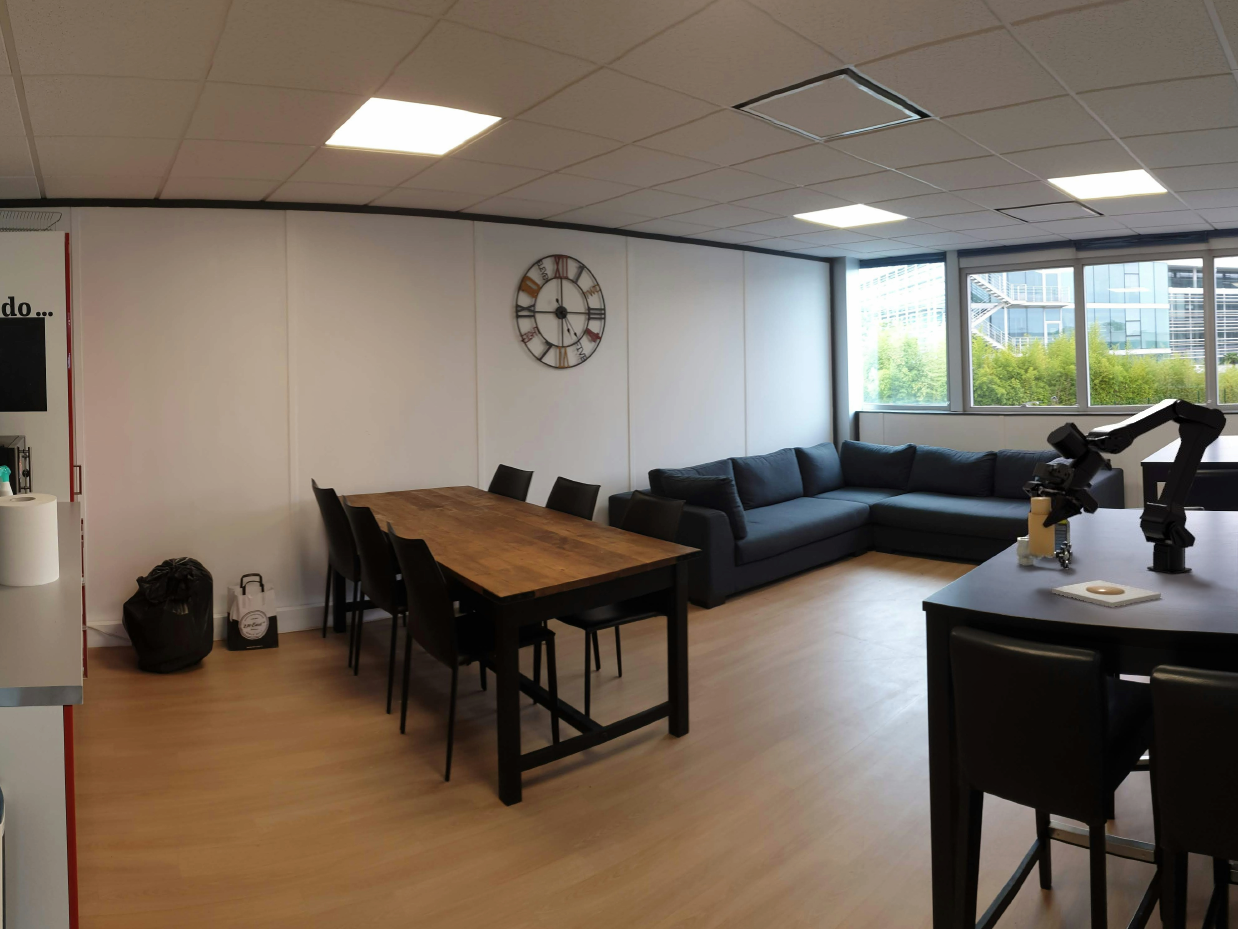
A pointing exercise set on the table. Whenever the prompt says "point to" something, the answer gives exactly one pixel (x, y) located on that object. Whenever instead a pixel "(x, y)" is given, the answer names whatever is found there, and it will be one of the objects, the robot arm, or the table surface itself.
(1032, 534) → the stepped tan cylinder
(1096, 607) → the table surface
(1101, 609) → the table surface
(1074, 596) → the plate
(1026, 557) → the valve
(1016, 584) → the table surface
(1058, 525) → the label tape cartridge
